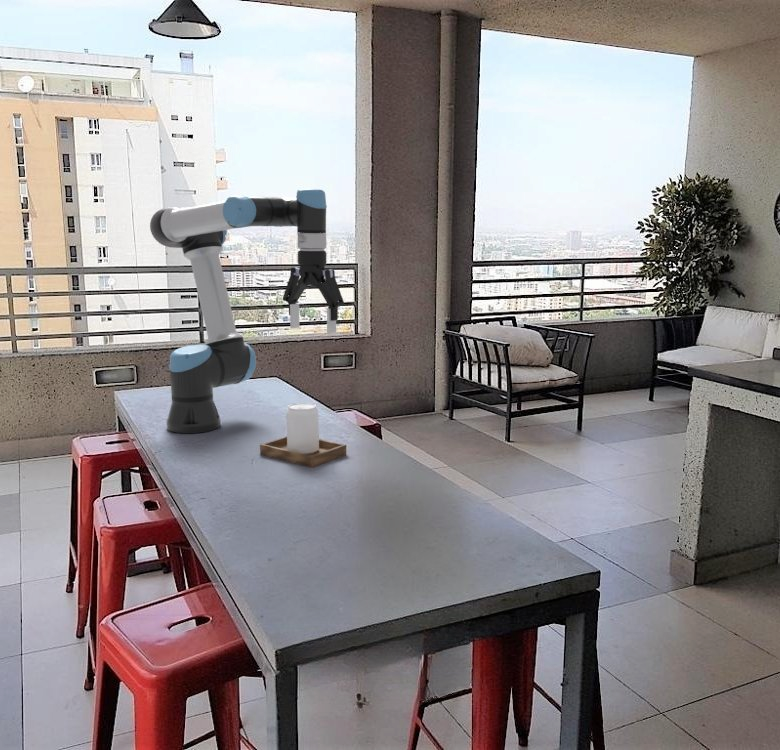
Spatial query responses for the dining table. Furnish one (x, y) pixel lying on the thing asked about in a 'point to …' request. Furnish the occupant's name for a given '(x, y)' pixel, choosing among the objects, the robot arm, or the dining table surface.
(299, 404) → the beverage can
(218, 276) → the robot arm
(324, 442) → the walnut tray
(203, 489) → the dining table surface
